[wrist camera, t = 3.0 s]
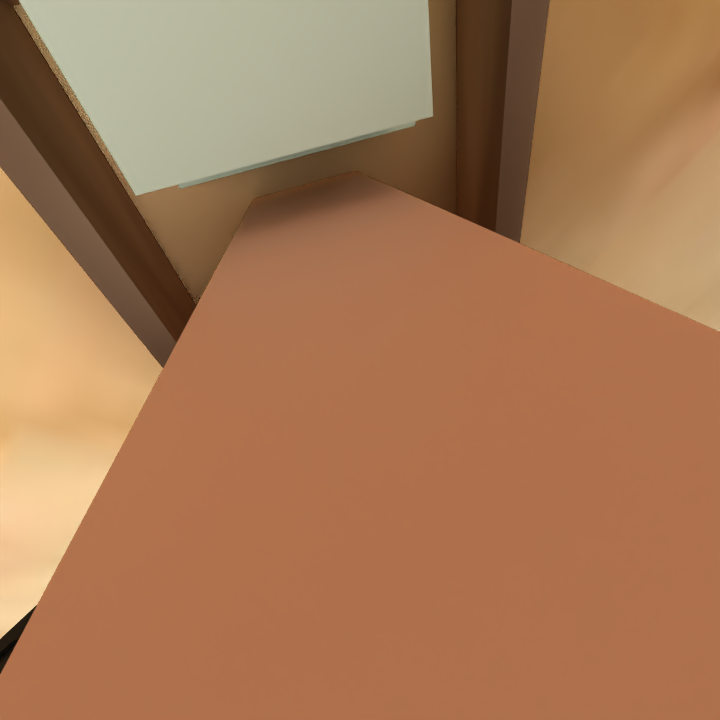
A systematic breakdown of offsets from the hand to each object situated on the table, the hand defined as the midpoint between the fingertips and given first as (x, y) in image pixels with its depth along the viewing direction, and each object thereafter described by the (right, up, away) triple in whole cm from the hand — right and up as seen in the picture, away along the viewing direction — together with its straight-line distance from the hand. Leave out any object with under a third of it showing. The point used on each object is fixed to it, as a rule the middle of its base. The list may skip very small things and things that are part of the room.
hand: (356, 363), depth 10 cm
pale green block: (-3, +9, -1) cm, 9 cm away
